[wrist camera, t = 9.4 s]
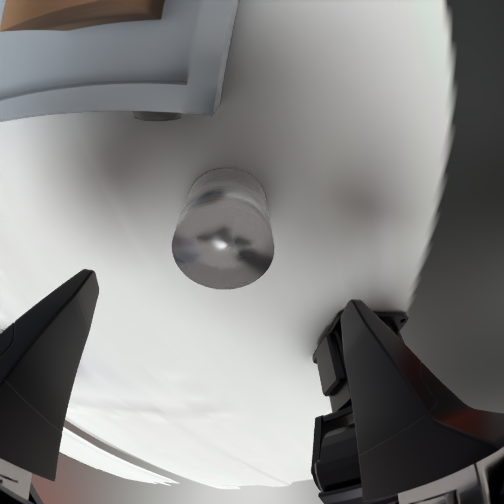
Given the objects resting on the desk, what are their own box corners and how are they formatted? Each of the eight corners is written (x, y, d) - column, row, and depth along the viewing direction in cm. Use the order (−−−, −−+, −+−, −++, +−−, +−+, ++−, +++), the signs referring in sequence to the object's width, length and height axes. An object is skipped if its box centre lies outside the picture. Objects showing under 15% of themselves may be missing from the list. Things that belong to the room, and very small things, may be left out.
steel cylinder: (273, 174, 13) (284, 214, 10) (258, 241, 16) (262, 293, 12) (190, 163, 13) (173, 200, 10) (185, 232, 15) (172, 283, 12)
